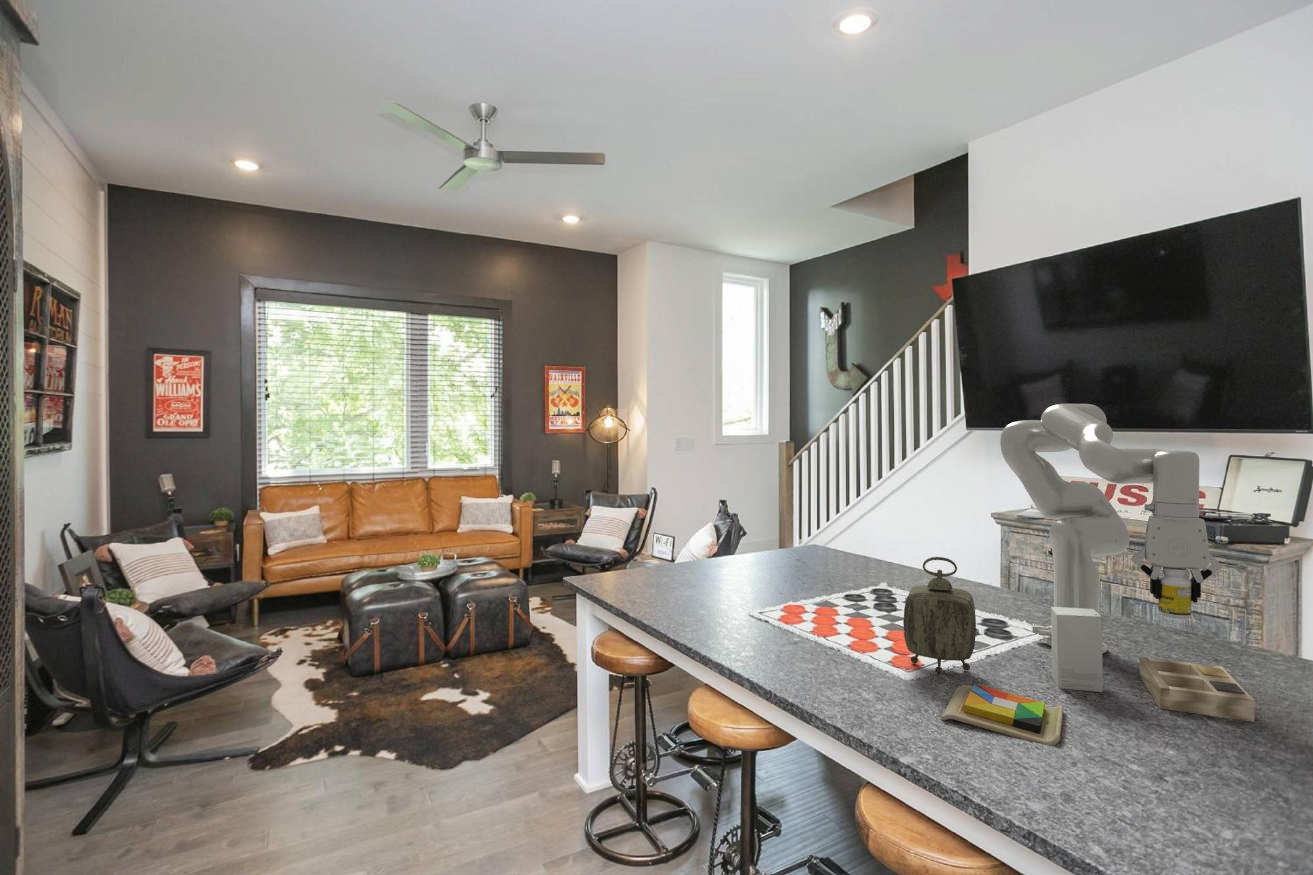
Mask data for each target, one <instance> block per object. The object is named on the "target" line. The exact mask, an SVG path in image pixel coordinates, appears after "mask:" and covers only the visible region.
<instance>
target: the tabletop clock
mask: <svg viewBox="0 0 1313 875" xmlns="http://www.w3.org/2000/svg"><path fill="white" fill-rule="evenodd" d="M933 561H942V562H943V561H945V562H947V563H950V564H951V565H953V567H954V570H953V571H952V572H947V573H943V570H941V569H937V571H936V572H933V571H930V570H929V569H926V564H928V563H929V562H933ZM957 566H958V565H957V564H956V563H955V562H954V561H953V560H951V559H950V558H946V557H944V556H943V557H942V556H933V557H930V558H927V559H925V560H924V562H923V564H922V569H923V571H924V572H925V573H927V574H929V575H931V576H935V577H932V578H931V579H930V580H929V581H928V583H927V584H926V585H923V584H922V585H916V586H913V587H911V588H910V590H909V593H908V594H907V597H906V600H905V602H904V603H905V604H904V610H903V620H902V621H903V635H904V641H905V645H906V648H907V650H908V652H910V653H912V654H914V655H913V656H911V657H910V662H911V663H912V664H917V663H918V662H919V656H920V657H924V658H929V659H933V660H937V666H936V667H935V669H934V672H935V674H937V675H942V674H944V670H943V668H942V667H941V666H942V664H941V663H942V661H957V662H958V661H959V662H961V663H962V665H961V666H962V669H963V670H964V671H969V670H970V669H971V665H970V664H969V663H968V662H966V661H965V660H971V657H972V655H973V653H974V650H975V646H976V645H975V644H976V633H977V619H976V618H977V617H976V607H975V606H976V605H975V602H974V598H973V596H972V594H971V592H969V591H967V590H965V589H962V588H957V587H952V584H951V582H950V580H948V579H947V578H946V577H951V576H953V575H955V574H956V573H957V571H958V567H957Z"/></svg>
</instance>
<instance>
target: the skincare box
mask: <svg viewBox="0 0 1313 875" xmlns="http://www.w3.org/2000/svg"><path fill="white" fill-rule="evenodd" d="M1050 620H1051V621H1050V622H1051V623H1050V624H1051V625H1050V626H1051V637H1052V647H1051V679H1052V680H1053V682H1054V683H1055V685H1056V687H1057V688H1058V689H1059V690H1060V689H1061V690H1075V691H1085V692H1095V693H1103V692H1104V684H1103V683H1104V678H1103V670H1104V669H1103V654H1102V643H1103V617H1102V615H1101V614H1100V615H1099V614H1098V613H1097V612H1096V611H1095V610H1094V609H1085V608H1065V607H1054V606H1051V607H1050Z"/></svg>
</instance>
